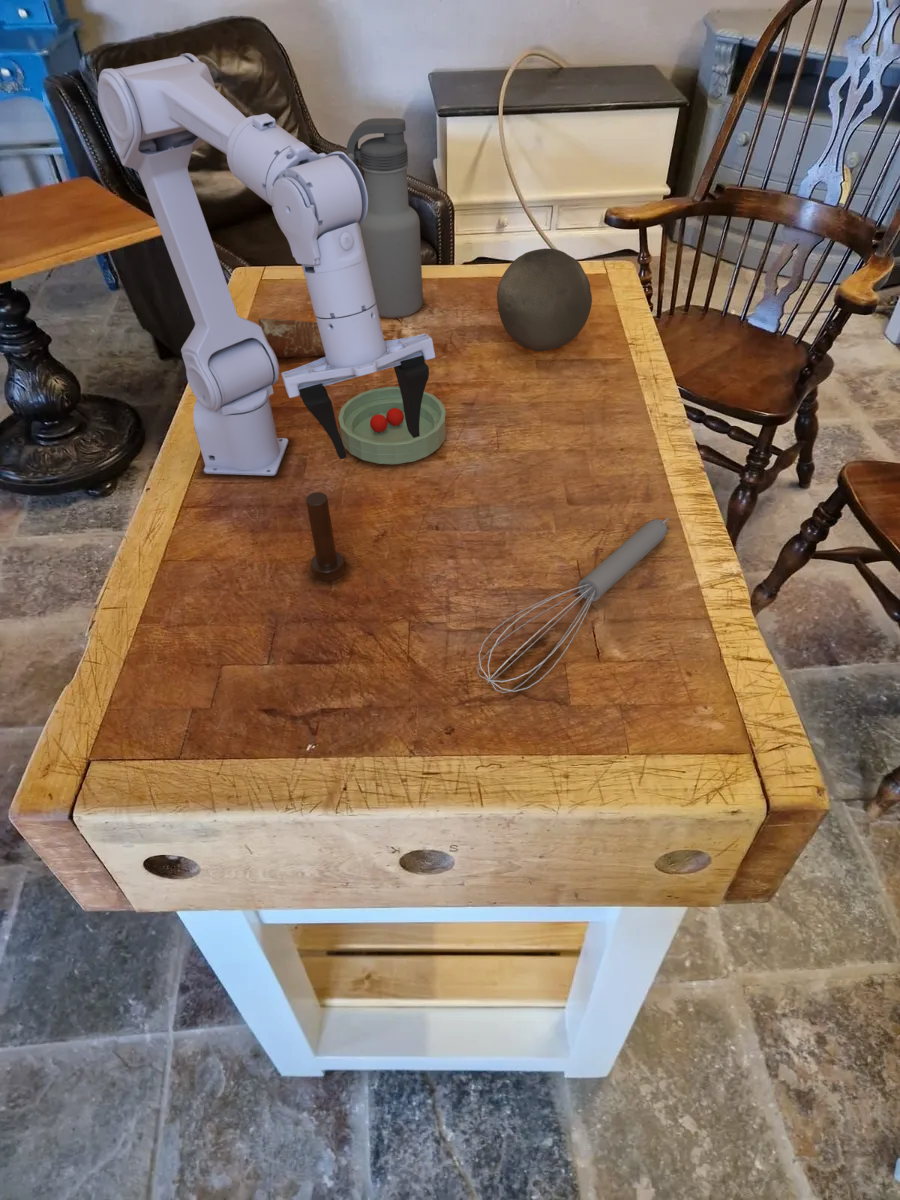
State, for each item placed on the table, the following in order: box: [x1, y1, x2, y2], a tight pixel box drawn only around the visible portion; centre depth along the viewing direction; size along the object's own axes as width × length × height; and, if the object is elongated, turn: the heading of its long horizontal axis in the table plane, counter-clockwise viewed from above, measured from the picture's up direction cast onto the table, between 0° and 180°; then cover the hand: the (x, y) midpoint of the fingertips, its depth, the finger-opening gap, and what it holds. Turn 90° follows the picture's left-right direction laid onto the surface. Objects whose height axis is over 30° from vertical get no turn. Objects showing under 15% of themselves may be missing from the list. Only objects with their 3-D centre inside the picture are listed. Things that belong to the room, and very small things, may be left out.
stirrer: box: [305, 491, 346, 583], centre depth 86 cm, size 4×4×10 cm
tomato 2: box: [386, 408, 404, 426], centre depth 109 cm, size 2×2×2 cm
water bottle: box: [346, 117, 424, 319], centre depth 126 cm, size 10×10×28 cm
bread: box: [258, 318, 326, 358], centre depth 123 cm, size 6×19×6 cm, turn 91°
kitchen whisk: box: [476, 516, 671, 694], centre depth 83 cm, size 6×34×6 cm, turn 140°
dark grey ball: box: [496, 247, 593, 353], centre depth 120 cm, size 14×14×15 cm
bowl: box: [337, 386, 447, 465], centre depth 107 cm, size 14×14×4 cm
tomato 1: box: [370, 414, 388, 432], centre depth 108 cm, size 2×2×2 cm
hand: (378, 444), depth 81 cm, fingers open, 7 cm apart
